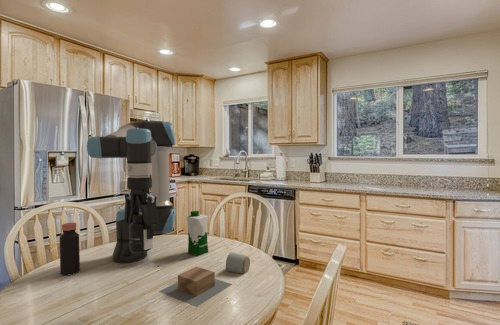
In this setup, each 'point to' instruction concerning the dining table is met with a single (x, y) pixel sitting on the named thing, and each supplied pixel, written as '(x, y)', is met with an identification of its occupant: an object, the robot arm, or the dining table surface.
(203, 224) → the milk carton
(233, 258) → the ceramic mug
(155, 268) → the dining table surface
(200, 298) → the mat
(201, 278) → the walnut block
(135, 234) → the supplement bottle
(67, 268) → the vinegar
